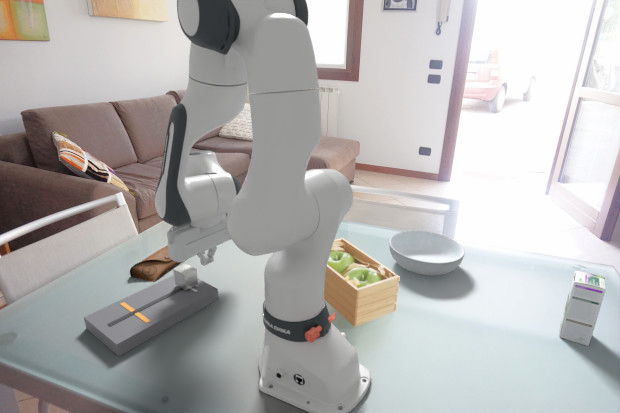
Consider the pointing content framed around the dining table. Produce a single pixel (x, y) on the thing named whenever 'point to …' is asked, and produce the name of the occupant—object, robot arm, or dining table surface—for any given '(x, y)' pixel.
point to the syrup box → (582, 307)
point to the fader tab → (185, 276)
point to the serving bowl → (426, 252)
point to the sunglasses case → (153, 266)
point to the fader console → (147, 313)
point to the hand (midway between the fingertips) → (207, 263)
